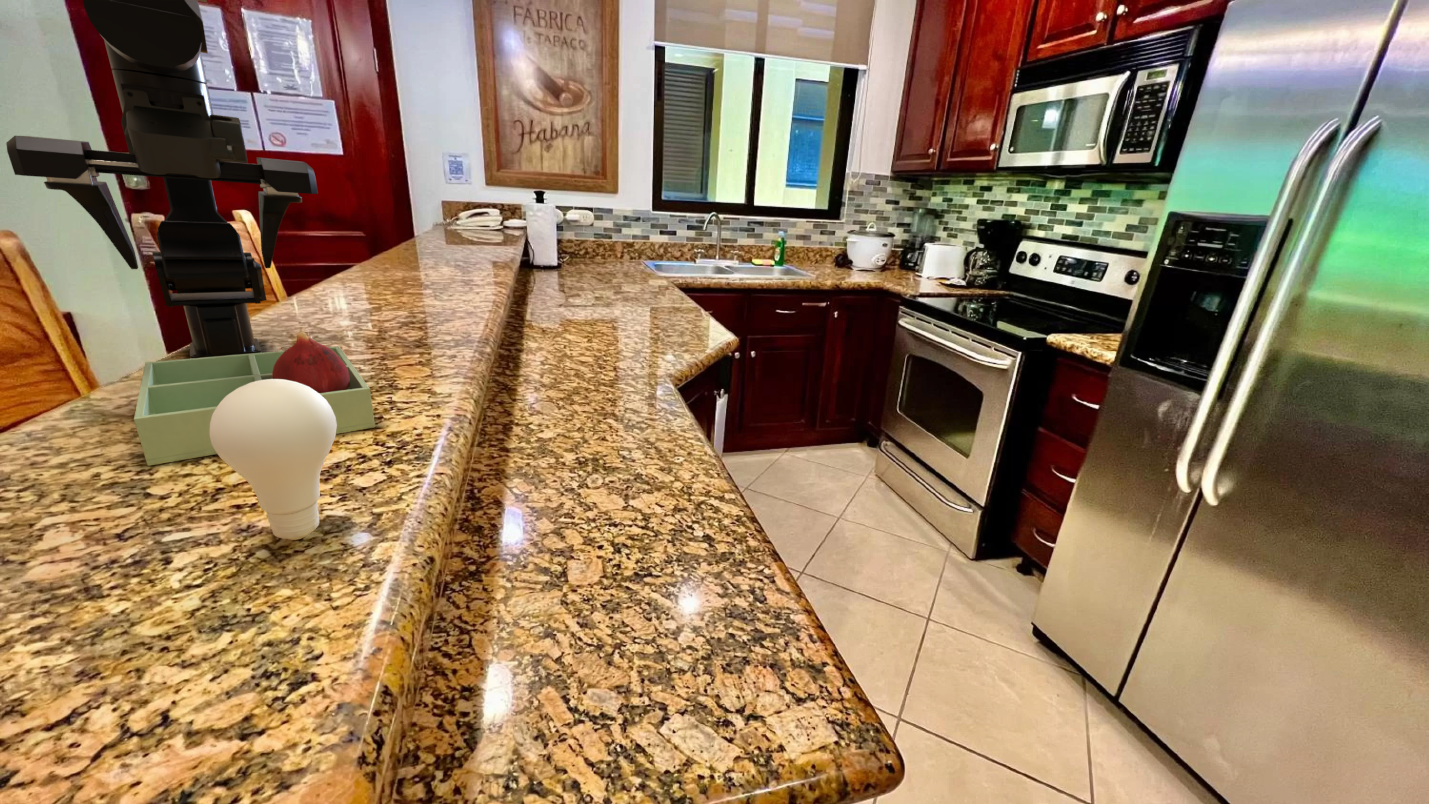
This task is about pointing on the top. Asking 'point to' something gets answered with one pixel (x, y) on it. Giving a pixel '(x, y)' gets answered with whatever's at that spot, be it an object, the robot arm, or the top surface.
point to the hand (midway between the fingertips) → (205, 268)
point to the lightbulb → (277, 448)
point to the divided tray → (194, 388)
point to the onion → (312, 366)
